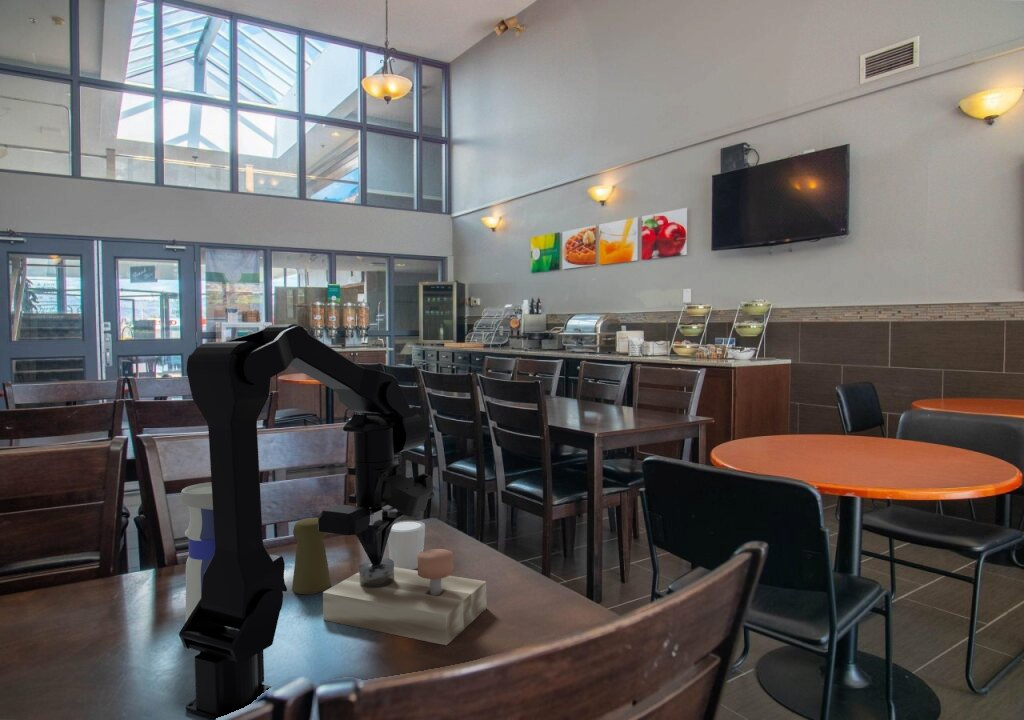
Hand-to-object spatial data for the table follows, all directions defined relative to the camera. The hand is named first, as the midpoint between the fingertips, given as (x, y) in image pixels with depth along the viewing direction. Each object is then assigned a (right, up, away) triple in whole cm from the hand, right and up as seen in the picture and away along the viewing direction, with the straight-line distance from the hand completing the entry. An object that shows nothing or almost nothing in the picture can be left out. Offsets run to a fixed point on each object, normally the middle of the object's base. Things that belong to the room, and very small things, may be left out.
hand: (376, 564), depth 92 cm
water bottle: (-22, -7, -3) cm, 23 cm away
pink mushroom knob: (+9, -4, -4) cm, 11 cm away
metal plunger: (0, -6, 0) cm, 6 cm away
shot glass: (+1, -6, +18) cm, 19 cm away
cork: (-12, -7, +9) cm, 17 cm away
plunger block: (+5, -7, -2) cm, 8 cm away
